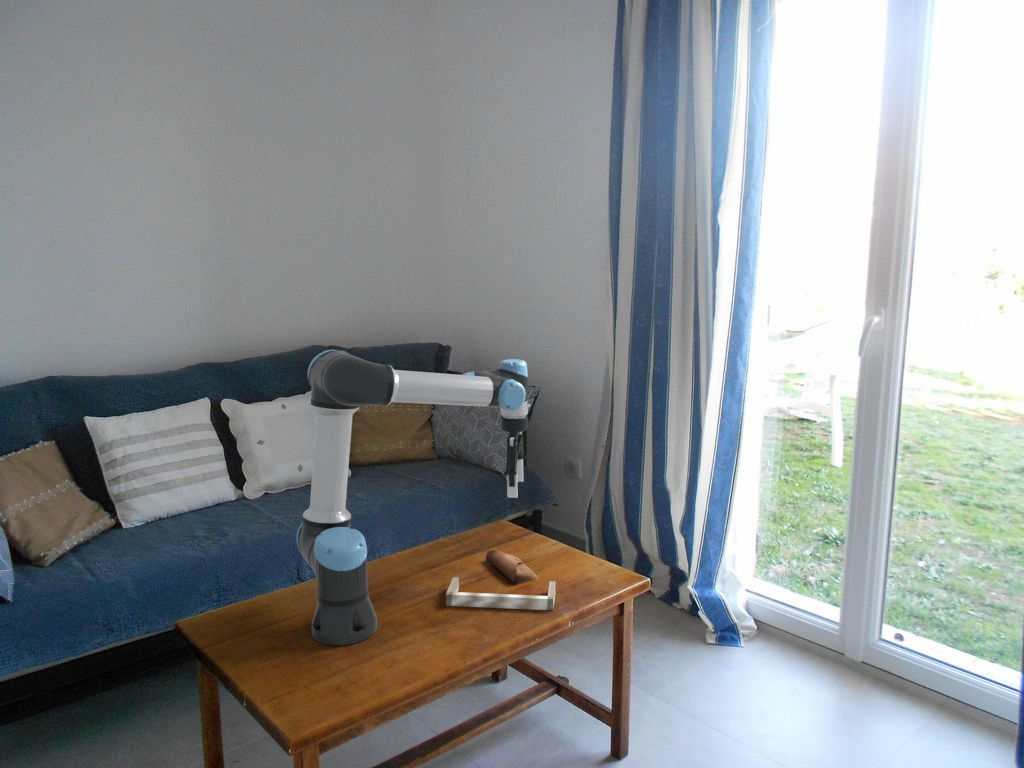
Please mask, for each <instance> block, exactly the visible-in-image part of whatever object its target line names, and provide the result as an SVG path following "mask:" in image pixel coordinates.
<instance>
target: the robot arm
mask: <svg viewBox="0 0 1024 768" xmlns="http://www.w3.org/2000/svg"><path fill="white" fill-rule="evenodd" d="M528 373H529V372H528V364H527V362H526V361H525V360H523V359H518V358H516V359H515V358H512V359H510V358H509V359H503V360H501V361H500V362H499V368H497V369H496V368H495V369H491V370H490V369H487V370H479V371H473V370H472V371H469V372H464V373H462V374H454V373H440V372H431V371H430V372H427V371H413V370H401V369H394V368H393V366H392V365H390V364H380V363H377V362H371V361H368V360H366V359H362V358H360V357H357V356H355V355H353V354H351V353H349V352H347V351H345V350H340V349H327V350H323V351H322V352H320V353H318V354H317V355H316V356H315V357H313V359H312V360H311V362H310V364H309V365H308V369H307V380H308V382H309V385H310V387H311V390H310V391H311V392H310V393H311V395H310V406H311V407H312V409H313V410H314V411H315V414H316V416H315V426H314V428H315V430H314V440H313V441H314V443H313V455H312V456H313V457H312V468H311V469H312V472H311V474H312V475H311V483H310V484H311V485H310V487H311V488H310V498H309V499H310V501H309V507H308V508H307V509H306V510H304V512H303V513H302V522H301V523H300V525H299V527H298V528H297V532H296V544H297V549H298V551H299V553H300V556H301V557H302V558H303V559H304V560H305V562H306V563H307V564H308V566H310V568H311V570H312V571H313V572H314V573H315V578H316V591H317V593H316V594H317V602H316V603H317V604H316V607H315V611H314V615H313V618H312V620H311V621H312V622H311V636H312V637H313V639H314V640H315V641H316V642H318V643H320V644H323V645H328V646H339V647H340V646H341V647H342V646H349V645H353V644H358V643H360V642H363V641H365V640H367V639H368V638H370V637H372V636H373V635H374V633H375V632H376V631H377V629H378V617H377V613H376V611H375V608H374V605H373V603H372V601H371V599H370V596H369V578H368V546H367V544H366V543H367V542H366V538H365V536H364V534H363V533H362V532H360V531H359V530H357V529H355V528H351V519H352V514H351V513H350V511H349V510H348V509H347V506H346V505H347V493H348V491H347V490H348V480H349V479H348V478H349V466H350V452H351V441H352V440H351V439H352V429H353V428H352V427H353V415H354V414H355V413H356V412H357V411H358V410H360V406H361V407H363V406H364V407H367V406H370V407H389V405H390V404H392V403H401V404H402V403H406V404H424V405H426V404H427V405H449V406H465V407H485V408H486V407H487V408H500V415H501V417H500V429H501V430H502V431H503V432H508V433H509V434H508V435H507V437H506V444H507V445H506V464H505V465H506V466H505V471H504V472H503V474H504V476H506V486H507V487H506V489H507V492H506V493H507V497H506V498H510V499H511V498H517V499H518V495H519V494H518V483H520V482H521V483H523V482H524V460H525V459H526V454H525V452H524V443H523V442H524V441H523V439H524V438H523V437H524V436H523V432H525V431H527V430H528V429H529V417H528V413H529V408H530V407H531V404H530V403H528V397H529V395H528V393H529V392H528V391H529V388H528V386H529V385H528V384H529V383H528V382H529V374H528Z"/></svg>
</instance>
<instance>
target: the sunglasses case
mask: <svg viewBox="0 0 1024 768" xmlns="http://www.w3.org/2000/svg"><path fill="white" fill-rule="evenodd" d="M485 559H486V561H487V562H488V563H489V564H491V565H492V566H494V567H495V568H496V569H497V570H498V571H500V572H501V573H502V574H503V576H505V577H506V578H507V579H509V581H511V582H512V583H513V584H515V586H518V585H522V584H525V583H529V582H534V581H537V580H540V578H539V576H538V575H537V574H536V573H535V572H534V571H533V570H532V569H531V568H530V567H528V566H527V565H526V564H525V563H524V562H523V561H522V559H520V558H519V557H517V556H515V555H513V554H510V553H506V552H504V551H501V550H495V549H492V550H489V551H487V552H486V555H485Z"/></svg>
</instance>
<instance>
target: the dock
mask: <svg viewBox="0 0 1024 768" xmlns="http://www.w3.org/2000/svg"><path fill="white" fill-rule="evenodd" d="M556 587H557V586H556V581H555V580H554V581H553V580H549V584H548V589H547V590H548V592H547V595H533V594H532V595H531V594H529V595H528V594H511V593H510V594H507V593H489V592H487V593H485V592H483V593H482V592H481V593H480V592H461V591H460V592H459V589H460V578H459V576H452V579H451V582H450V583H449V586H448V589H447V591H446V592H445V606H447V607H449V606H450V607H469V608H472V607H473V608H493V609H494V608H495V609H513V610H515V609H516V610H518V609H519V610H537V611H539V610H540V611H554V609H555V608H554V607H555V600H556V599H555V598H556Z"/></svg>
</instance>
